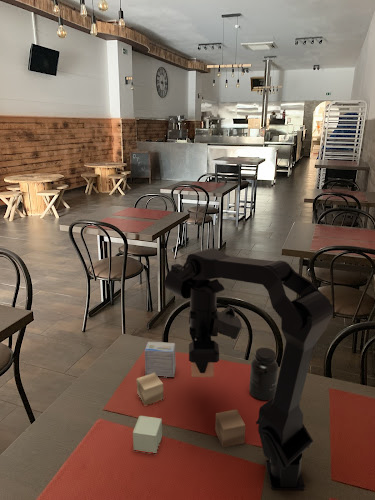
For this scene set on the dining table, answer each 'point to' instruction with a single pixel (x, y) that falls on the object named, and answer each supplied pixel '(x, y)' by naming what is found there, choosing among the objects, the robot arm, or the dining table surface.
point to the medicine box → (160, 359)
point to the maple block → (150, 388)
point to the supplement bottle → (263, 374)
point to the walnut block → (230, 428)
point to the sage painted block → (147, 434)
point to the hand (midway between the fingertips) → (202, 365)
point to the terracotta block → (196, 373)
